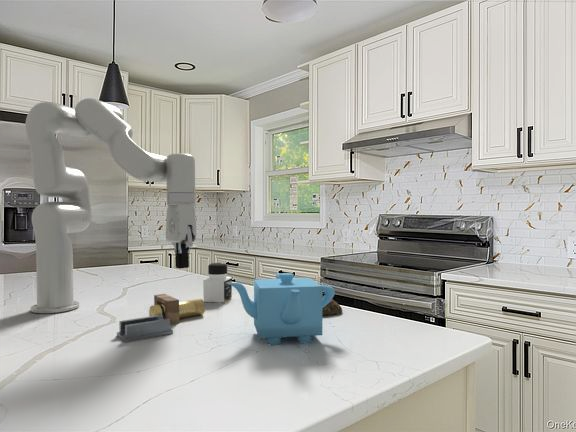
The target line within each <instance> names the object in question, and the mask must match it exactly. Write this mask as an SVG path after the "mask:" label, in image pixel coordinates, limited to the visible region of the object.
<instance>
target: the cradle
mask: <svg viewBox="0 0 576 432" xmlns="http://www.w3.org/2000/svg"><path fill="white" fill-rule="evenodd" d="M118 325H119V331H117V332H116V336H117V337H118V338H119V339H120V340H121V341H123V342H124V343H129V342H135V341H141V340H146V339H151V338H156V337H164V336H168V335H173V334H174V332H173V329H172V328H171V325H170V319H163V315H156V316H150V317H149V316H144V317H137V318H130V319H124V320H119V324H118Z"/></svg>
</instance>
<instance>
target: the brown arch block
mask: <svg viewBox="0 0 576 432" xmlns="http://www.w3.org/2000/svg"><path fill="white" fill-rule="evenodd" d="M179 302H180V299H178V298H176V297H173V296H171V295H168V294H166V293H161V294H154V295H153V303H154V304H153V306H154V305H160V304H165V319H170V326H171V325H175V324H179V323H180V318H179Z"/></svg>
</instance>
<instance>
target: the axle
mask: <svg viewBox="0 0 576 432" xmlns="http://www.w3.org/2000/svg"><path fill="white" fill-rule="evenodd" d="M205 311H206V306H205V302H204V299H203V298H196V299H189V300H182V301H179V319H184V318H190V317H195V316H202V315H204V313H205ZM148 314H149V316H148V317H150V316H156V315H163V319H165V304H160V305H154V304H153V305H150V306H149V310H148Z"/></svg>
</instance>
